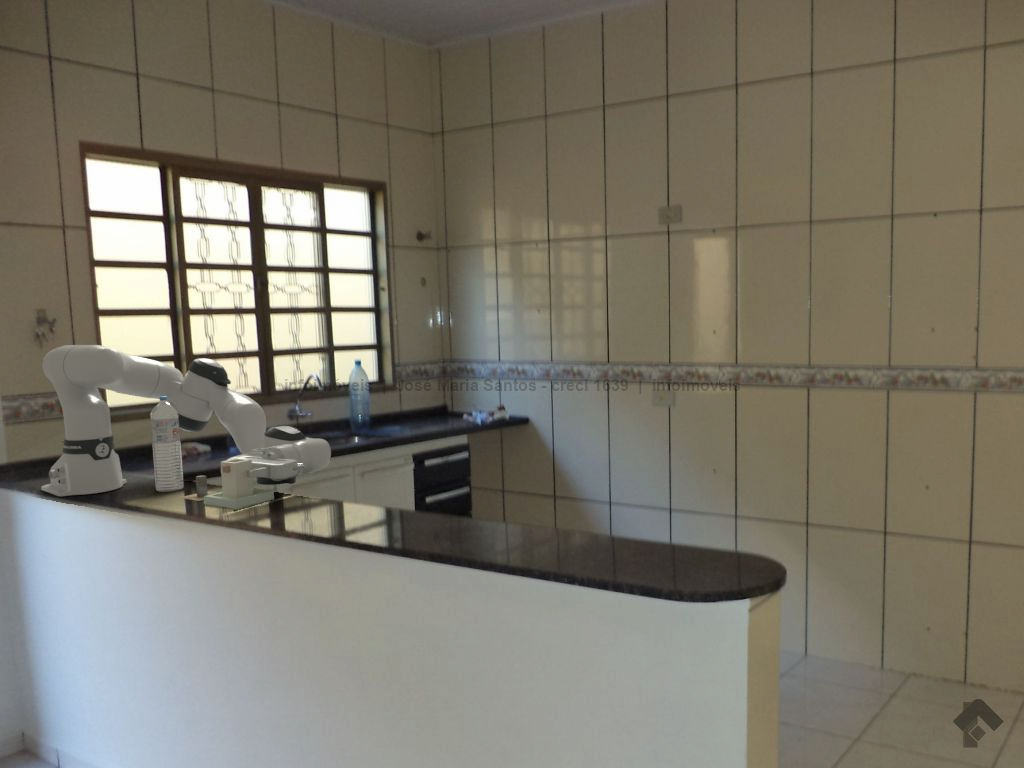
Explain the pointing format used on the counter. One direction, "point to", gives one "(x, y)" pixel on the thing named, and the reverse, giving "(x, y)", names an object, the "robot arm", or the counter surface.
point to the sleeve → (236, 478)
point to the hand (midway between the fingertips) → (235, 473)
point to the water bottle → (166, 447)
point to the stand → (199, 489)
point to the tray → (258, 497)
